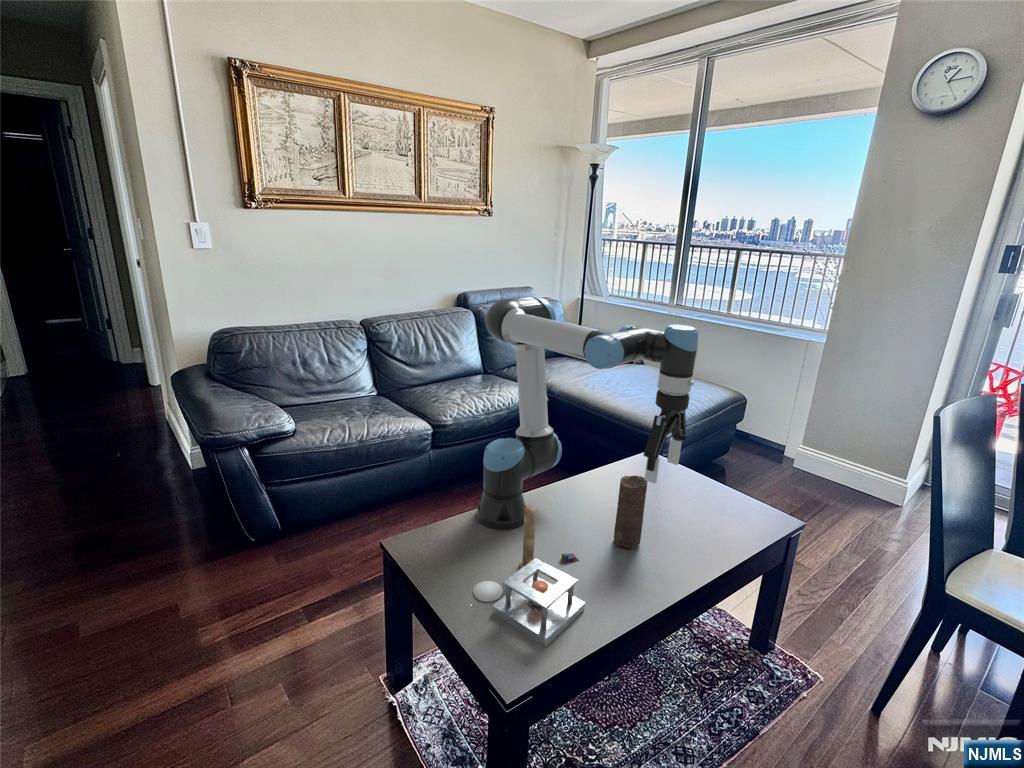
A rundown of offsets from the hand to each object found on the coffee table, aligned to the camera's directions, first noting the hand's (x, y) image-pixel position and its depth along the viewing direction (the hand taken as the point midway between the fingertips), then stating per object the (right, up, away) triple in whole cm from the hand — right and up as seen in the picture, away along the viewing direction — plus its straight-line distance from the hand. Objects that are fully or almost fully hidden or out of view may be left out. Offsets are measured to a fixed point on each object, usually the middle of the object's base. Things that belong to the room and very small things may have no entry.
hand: (661, 472), depth 129 cm
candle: (-5, -23, +16) cm, 29 cm away
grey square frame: (-31, -30, -10) cm, 45 cm away
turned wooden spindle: (-33, -25, +5) cm, 42 cm away
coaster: (-43, -28, -5) cm, 52 cm away
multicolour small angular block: (-22, -25, +9) cm, 35 cm away
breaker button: (-31, -27, -11) cm, 43 cm away
